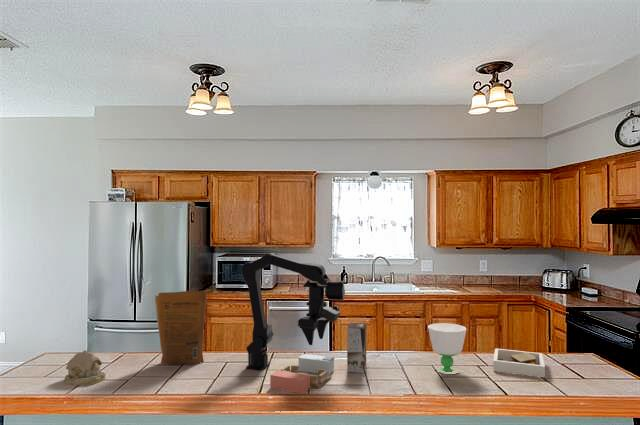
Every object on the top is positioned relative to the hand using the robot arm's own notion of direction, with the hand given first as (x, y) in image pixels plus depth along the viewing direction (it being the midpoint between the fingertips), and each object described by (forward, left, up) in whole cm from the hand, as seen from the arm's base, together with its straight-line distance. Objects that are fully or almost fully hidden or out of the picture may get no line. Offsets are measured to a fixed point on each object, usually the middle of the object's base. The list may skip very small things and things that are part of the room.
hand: (316, 341), depth 165 cm
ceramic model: (-70, -40, -11) cm, 81 cm away
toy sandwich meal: (+68, +33, -11) cm, 76 cm away
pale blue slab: (0, 0, -11) cm, 11 cm away
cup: (+44, +19, -11) cm, 49 cm away
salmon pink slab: (-1, -19, -11) cm, 22 cm away
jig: (0, -10, -11) cm, 15 cm away
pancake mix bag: (-51, -13, -11) cm, 54 cm away
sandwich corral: (+68, +33, -11) cm, 76 cm away
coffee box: (+13, +8, -11) cm, 19 cm away
